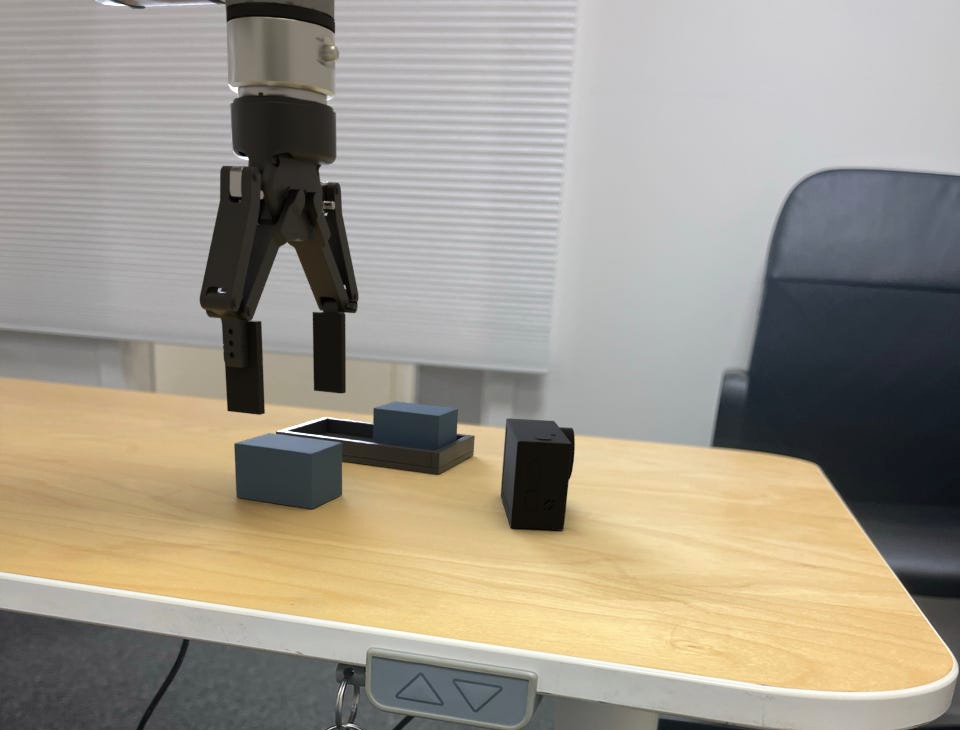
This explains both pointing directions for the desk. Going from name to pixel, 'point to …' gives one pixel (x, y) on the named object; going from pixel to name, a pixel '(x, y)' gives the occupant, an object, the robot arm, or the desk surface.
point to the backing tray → (382, 446)
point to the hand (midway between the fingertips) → (291, 401)
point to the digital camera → (536, 473)
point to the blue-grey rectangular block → (288, 470)
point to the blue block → (414, 425)
